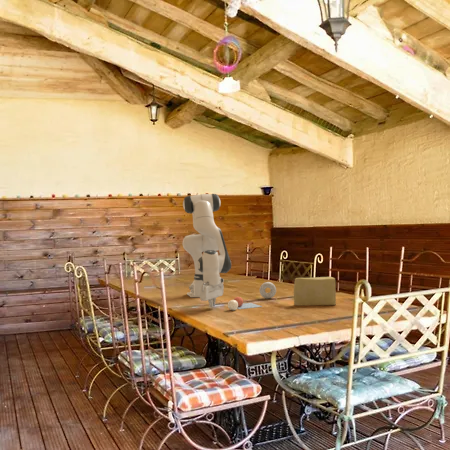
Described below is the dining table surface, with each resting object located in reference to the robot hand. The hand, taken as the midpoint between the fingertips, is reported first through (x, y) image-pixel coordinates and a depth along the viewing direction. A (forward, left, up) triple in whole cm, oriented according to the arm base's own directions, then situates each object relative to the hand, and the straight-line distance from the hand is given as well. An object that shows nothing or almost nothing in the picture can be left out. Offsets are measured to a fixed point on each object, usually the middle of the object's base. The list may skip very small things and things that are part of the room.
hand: (212, 306), depth 273 cm
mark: (0, +19, -2) cm, 20 cm away
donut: (-16, +43, -2) cm, 46 cm away
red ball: (0, +15, +1) cm, 15 cm away
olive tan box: (+17, +53, -2) cm, 56 cm away
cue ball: (+8, +8, +1) cm, 12 cm away
